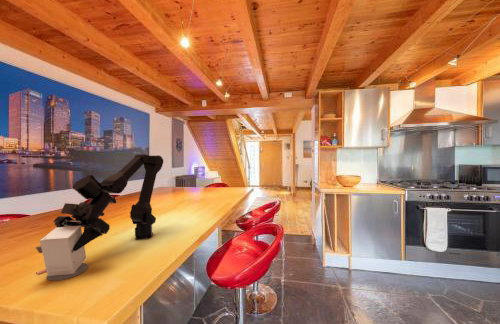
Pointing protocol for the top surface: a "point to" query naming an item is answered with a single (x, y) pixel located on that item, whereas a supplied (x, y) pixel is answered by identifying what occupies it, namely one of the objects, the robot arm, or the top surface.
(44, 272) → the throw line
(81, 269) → the disc
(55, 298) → the top surface
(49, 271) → the supplement box
